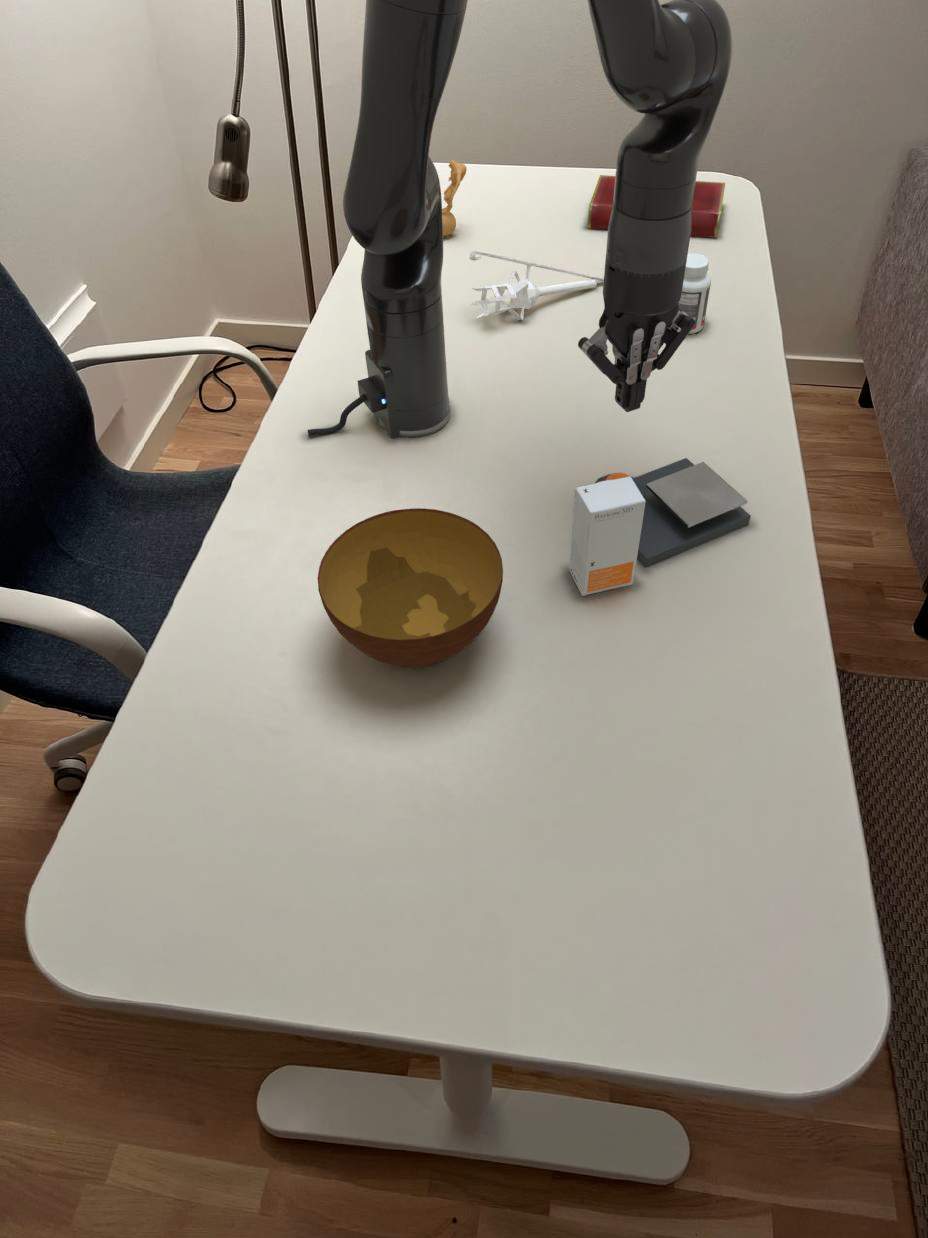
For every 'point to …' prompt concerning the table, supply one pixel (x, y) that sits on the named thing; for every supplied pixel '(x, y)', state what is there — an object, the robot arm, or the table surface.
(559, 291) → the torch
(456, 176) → the figurine
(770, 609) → the table surface
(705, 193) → the hardcover book
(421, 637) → the bowl
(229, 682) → the table surface
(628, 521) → the cosmetic box
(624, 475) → the tare button
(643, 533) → the scale
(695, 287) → the pill bottle
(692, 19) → the robot arm
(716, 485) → the weighing pan
